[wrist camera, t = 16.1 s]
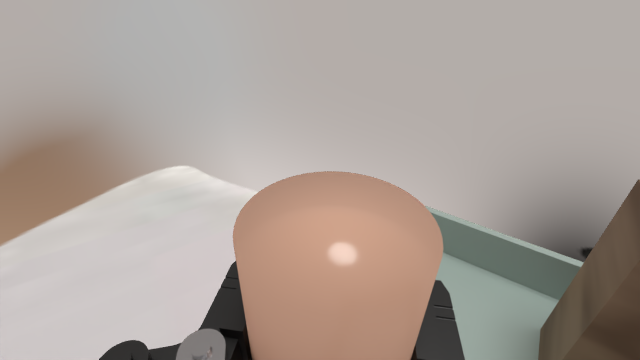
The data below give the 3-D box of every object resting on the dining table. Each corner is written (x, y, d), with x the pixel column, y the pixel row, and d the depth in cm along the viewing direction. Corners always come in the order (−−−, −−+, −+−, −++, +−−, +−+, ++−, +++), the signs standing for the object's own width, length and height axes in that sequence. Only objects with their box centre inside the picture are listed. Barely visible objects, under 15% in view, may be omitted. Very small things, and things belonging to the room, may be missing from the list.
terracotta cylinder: (400, 409, 14) (465, 208, 8) (346, 546, 11) (393, 366, 5) (309, 349, 16) (311, 156, 11) (240, 447, 13) (185, 241, 7)
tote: (641, 338, 21) (680, 297, 19) (696, 592, 12) (781, 569, 10) (370, 225, 30) (376, 188, 27) (287, 326, 21) (286, 283, 19)
